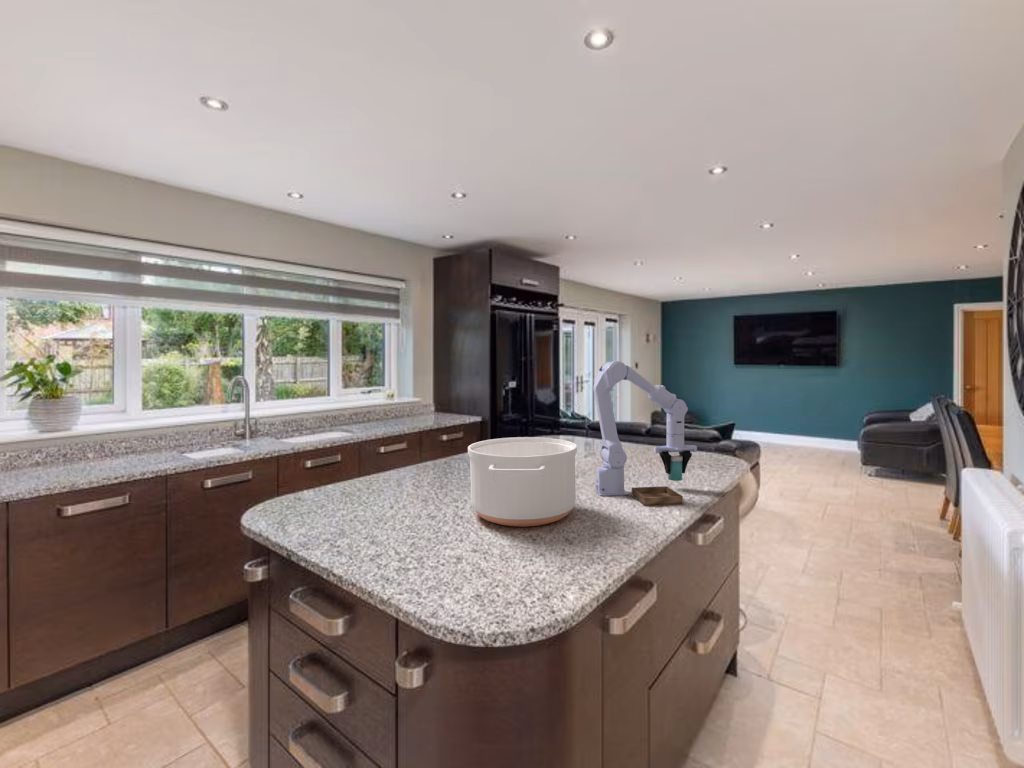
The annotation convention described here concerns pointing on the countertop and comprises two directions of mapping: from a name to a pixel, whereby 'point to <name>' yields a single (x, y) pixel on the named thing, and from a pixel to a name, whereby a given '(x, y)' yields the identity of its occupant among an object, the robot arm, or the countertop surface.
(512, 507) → the pot
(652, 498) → the tray
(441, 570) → the countertop surface
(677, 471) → the shaker
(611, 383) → the robot arm
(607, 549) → the countertop surface
